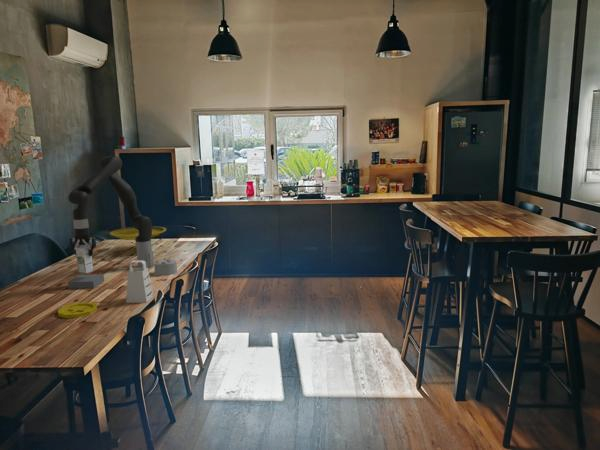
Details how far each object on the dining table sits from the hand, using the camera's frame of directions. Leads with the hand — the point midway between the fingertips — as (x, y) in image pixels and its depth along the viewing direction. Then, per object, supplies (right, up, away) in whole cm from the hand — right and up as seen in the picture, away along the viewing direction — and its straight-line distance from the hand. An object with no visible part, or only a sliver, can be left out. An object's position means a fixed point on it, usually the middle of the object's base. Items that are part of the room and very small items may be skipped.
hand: (84, 255), depth 264 cm
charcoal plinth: (0, -17, +3) cm, 17 cm away
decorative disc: (+15, -25, -39) cm, 49 cm away
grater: (+39, -21, -23) cm, 50 cm away
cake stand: (+2, -2, +86) cm, 86 cm away
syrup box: (0, -9, +2) cm, 9 cm away
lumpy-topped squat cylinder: (+39, -12, +24) cm, 48 cm away
